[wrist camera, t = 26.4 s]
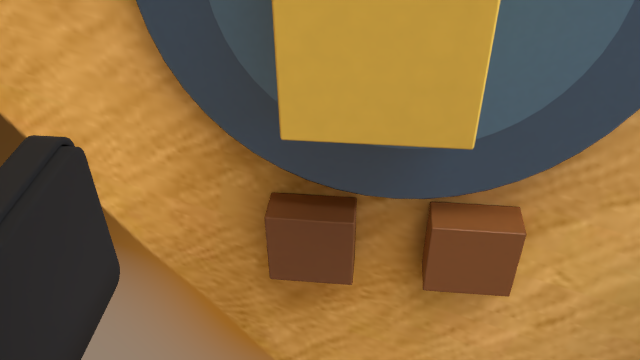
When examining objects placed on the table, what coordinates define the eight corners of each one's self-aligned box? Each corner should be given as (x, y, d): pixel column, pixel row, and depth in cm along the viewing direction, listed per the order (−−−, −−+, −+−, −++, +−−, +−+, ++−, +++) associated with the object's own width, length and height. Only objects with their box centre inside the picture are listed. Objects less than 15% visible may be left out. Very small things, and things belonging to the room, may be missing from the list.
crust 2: (430, 201, 30) (431, 228, 28) (520, 206, 30) (526, 234, 28) (421, 262, 33) (422, 290, 31) (504, 268, 32) (509, 297, 31)
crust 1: (271, 191, 31) (264, 217, 29) (356, 196, 30) (354, 223, 29) (275, 252, 34) (269, 279, 32) (354, 258, 33) (352, 285, 32)
